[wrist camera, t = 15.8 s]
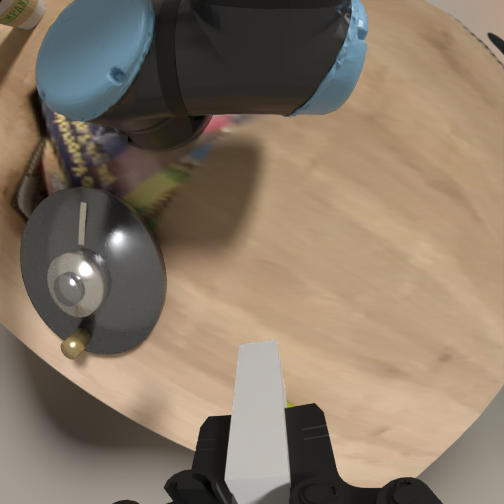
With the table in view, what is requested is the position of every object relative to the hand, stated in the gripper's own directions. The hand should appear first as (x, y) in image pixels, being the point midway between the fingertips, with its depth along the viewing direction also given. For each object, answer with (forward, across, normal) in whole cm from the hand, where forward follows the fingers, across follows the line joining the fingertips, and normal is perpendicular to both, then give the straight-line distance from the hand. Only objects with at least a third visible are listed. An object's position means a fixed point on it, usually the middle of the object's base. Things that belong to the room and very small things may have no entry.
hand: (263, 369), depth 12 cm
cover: (+28, -26, -2) cm, 38 cm away
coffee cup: (+32, -33, +48) cm, 67 cm away
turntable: (+30, -27, -1) cm, 40 cm away
